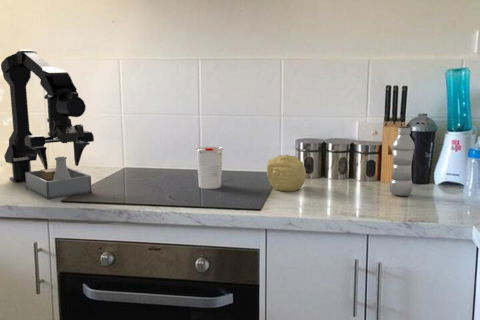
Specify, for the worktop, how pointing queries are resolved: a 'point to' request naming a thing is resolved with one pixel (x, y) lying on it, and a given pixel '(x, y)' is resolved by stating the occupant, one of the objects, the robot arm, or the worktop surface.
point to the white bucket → (209, 167)
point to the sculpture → (286, 173)
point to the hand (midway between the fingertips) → (61, 167)
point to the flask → (61, 169)
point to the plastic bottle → (402, 162)
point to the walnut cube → (48, 174)
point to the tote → (59, 184)
